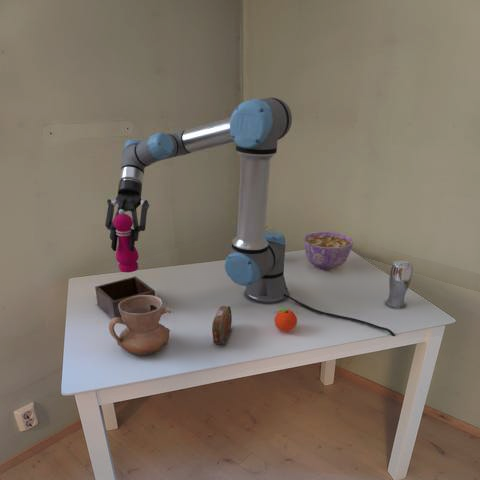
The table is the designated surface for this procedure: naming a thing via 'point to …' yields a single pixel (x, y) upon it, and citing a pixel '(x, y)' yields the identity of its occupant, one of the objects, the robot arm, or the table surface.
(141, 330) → the ceramic jug
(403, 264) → the beer glass
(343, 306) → the table surface
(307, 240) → the bowl of food
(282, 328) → the clementine
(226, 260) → the robot arm
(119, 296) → the box
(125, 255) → the pepper mill
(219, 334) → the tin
